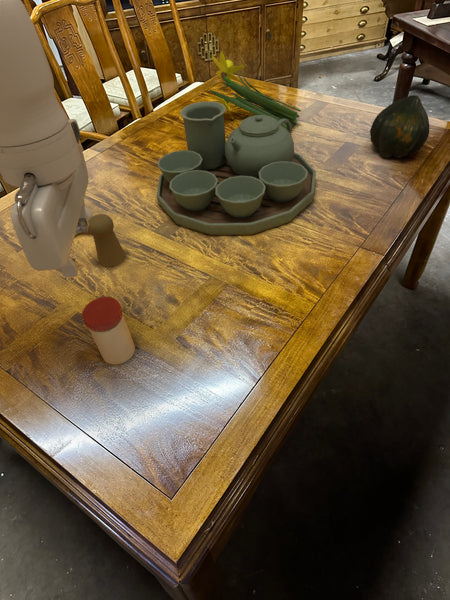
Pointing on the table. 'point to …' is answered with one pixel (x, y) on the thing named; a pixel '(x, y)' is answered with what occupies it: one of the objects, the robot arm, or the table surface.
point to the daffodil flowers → (249, 95)
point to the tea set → (234, 174)
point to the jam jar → (114, 343)
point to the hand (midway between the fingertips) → (78, 250)
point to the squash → (400, 128)
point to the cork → (106, 241)
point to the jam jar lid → (102, 313)
